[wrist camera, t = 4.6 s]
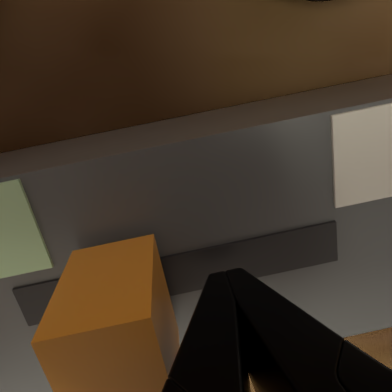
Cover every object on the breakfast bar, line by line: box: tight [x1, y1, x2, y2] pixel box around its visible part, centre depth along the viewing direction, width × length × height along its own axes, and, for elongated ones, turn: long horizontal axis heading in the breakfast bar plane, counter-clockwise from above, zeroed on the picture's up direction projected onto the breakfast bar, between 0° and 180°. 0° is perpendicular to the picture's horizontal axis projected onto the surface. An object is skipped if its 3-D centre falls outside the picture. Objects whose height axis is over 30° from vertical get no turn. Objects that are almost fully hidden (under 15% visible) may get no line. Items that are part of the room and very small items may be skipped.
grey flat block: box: [0, 74, 392, 392], centre depth 11 cm, size 7×18×4 cm, turn 100°
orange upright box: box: [31, 234, 180, 392], centre depth 8 cm, size 3×2×3 cm, turn 10°
